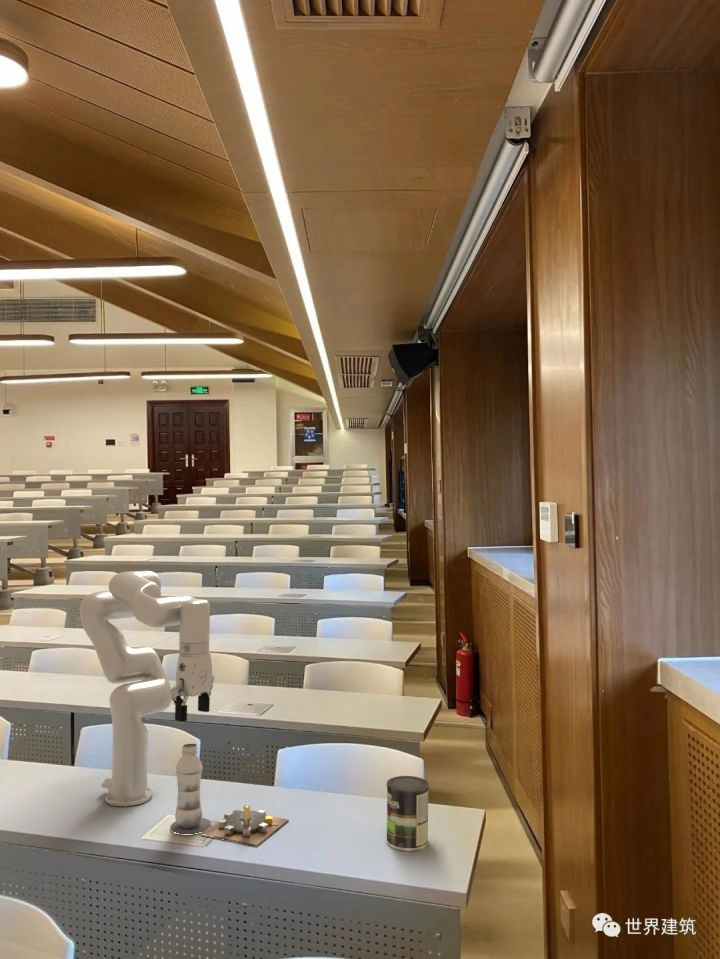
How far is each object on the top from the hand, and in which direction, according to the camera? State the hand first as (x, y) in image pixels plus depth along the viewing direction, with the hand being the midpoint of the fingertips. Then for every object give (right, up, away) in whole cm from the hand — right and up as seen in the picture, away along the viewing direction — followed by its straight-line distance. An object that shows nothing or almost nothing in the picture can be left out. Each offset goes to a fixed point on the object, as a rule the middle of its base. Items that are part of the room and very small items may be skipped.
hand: (192, 716), depth 188 cm
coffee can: (+54, -28, -9) cm, 62 cm away
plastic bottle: (-1, -27, -2) cm, 27 cm away
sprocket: (+14, -28, -2) cm, 31 cm away
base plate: (+14, -28, -2) cm, 31 cm away
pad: (0, -28, -2) cm, 28 cm away
